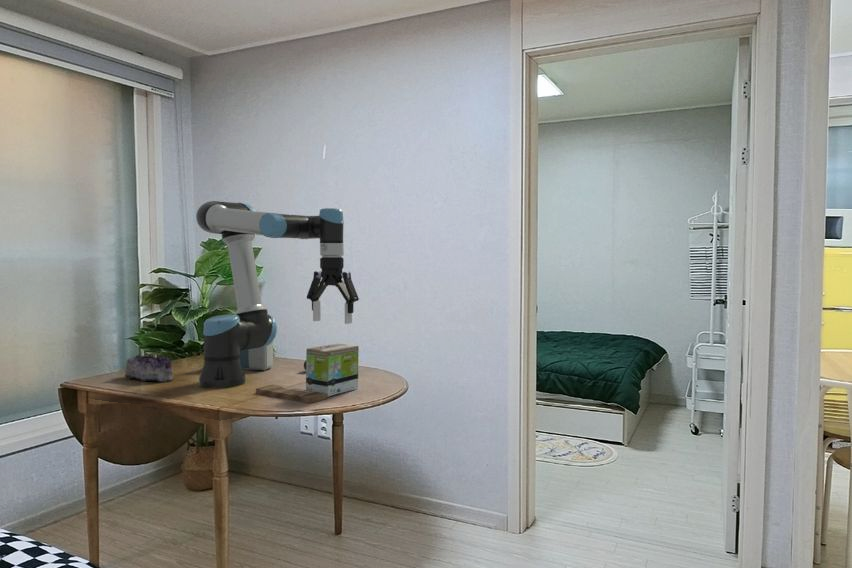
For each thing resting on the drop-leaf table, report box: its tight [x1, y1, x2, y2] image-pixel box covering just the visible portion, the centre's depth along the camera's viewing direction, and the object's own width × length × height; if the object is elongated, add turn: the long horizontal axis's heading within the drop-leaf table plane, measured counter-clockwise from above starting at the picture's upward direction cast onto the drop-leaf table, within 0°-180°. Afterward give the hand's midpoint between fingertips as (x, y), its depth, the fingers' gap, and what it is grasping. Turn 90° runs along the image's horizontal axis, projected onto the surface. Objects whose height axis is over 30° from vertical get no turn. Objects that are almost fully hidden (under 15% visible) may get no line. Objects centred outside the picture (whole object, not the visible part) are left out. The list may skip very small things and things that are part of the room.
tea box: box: [305, 343, 360, 398], centre depth 193 cm, size 15×10×15 cm
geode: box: [124, 354, 174, 383], centre depth 214 cm, size 20×12×10 cm, turn 65°
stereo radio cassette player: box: [240, 342, 274, 372], centre depth 232 cm, size 21×8×20 cm, turn 77°
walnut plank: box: [255, 384, 328, 404], centre depth 187 cm, size 24×7×2 cm, turn 57°
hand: (332, 322), depth 193 cm, fingers open, 13 cm apart
